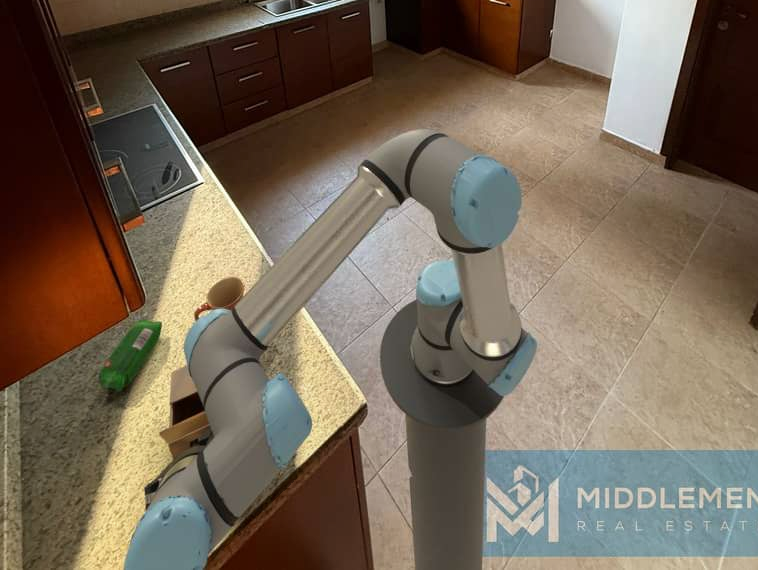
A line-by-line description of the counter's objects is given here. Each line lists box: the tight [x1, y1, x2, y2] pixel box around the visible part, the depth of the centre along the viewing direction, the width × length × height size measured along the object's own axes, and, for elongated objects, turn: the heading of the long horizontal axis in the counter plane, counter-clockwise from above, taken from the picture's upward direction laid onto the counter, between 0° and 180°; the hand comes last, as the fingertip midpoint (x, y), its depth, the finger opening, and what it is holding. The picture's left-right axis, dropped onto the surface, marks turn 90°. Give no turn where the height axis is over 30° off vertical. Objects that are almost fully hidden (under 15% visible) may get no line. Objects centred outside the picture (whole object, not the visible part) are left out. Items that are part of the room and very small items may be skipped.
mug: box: [193, 276, 245, 322], centre depth 105 cm, size 12×9×10 cm
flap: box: [158, 411, 209, 444], centre depth 76 cm, size 15×6×1 cm
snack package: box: [98, 317, 163, 392], centre depth 100 cm, size 7×16×5 cm, turn 173°
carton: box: [167, 364, 210, 460], centre depth 85 cm, size 15×13×11 cm
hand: (209, 437), depth 73 cm, fingers closed
